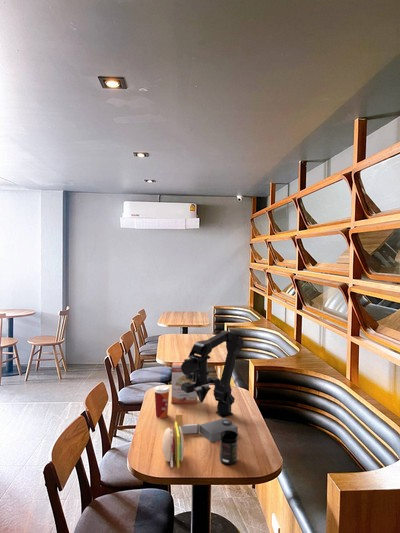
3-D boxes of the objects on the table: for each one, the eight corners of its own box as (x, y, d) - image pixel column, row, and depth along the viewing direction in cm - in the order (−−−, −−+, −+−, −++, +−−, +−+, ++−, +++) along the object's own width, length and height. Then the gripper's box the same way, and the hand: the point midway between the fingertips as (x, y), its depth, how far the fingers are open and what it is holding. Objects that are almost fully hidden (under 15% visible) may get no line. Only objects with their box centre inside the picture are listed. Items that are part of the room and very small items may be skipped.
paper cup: (167, 419, 177) (167, 391, 176) (151, 418, 178) (152, 389, 178) (171, 412, 184) (171, 385, 184) (156, 411, 186) (157, 384, 185)
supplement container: (239, 458, 144) (239, 432, 144) (234, 467, 138) (235, 440, 137) (222, 454, 146) (222, 429, 146) (217, 464, 140) (217, 437, 140)
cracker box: (171, 403, 195) (171, 365, 195) (172, 399, 201) (172, 361, 201) (197, 404, 195) (198, 365, 194) (197, 399, 201) (198, 362, 201)
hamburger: (161, 451, 148) (161, 422, 148) (181, 450, 149) (182, 421, 149) (163, 469, 136) (163, 437, 136) (185, 467, 138) (185, 435, 137)
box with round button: (224, 425, 172) (224, 416, 172) (237, 434, 163) (237, 425, 163) (199, 432, 164) (199, 423, 164) (211, 442, 156) (211, 432, 156)
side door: (199, 433, 164) (199, 413, 163) (175, 434, 162) (175, 414, 162) (198, 432, 165) (199, 412, 164) (175, 433, 163) (175, 413, 163)
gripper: (208, 361, 182) (208, 392, 183) (175, 368, 173) (175, 400, 173) (221, 367, 173) (221, 400, 174) (187, 375, 163) (187, 409, 164)
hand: (201, 402), depth 171 cm, fingers closed
